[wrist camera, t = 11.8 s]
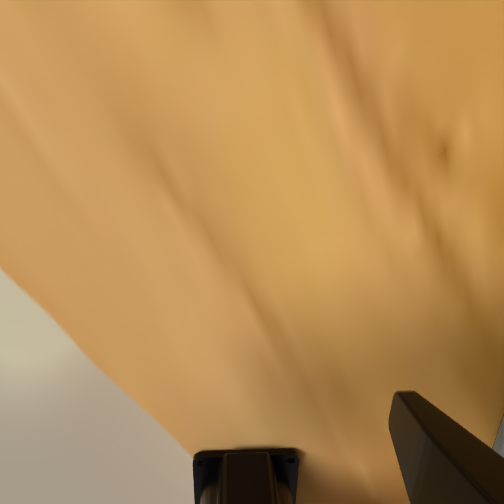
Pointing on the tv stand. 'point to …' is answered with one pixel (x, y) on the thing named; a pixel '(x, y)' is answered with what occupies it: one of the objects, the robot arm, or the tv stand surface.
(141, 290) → the tv stand surface
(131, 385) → the tv stand surface
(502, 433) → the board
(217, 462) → the robot arm
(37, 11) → the tv stand surface
